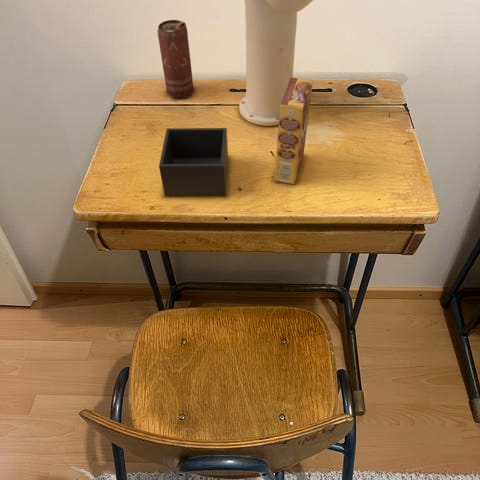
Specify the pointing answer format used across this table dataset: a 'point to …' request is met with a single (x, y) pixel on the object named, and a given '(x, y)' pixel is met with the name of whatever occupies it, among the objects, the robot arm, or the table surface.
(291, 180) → the candy box
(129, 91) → the table surface
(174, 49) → the can
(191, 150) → the bin
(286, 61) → the robot arm
